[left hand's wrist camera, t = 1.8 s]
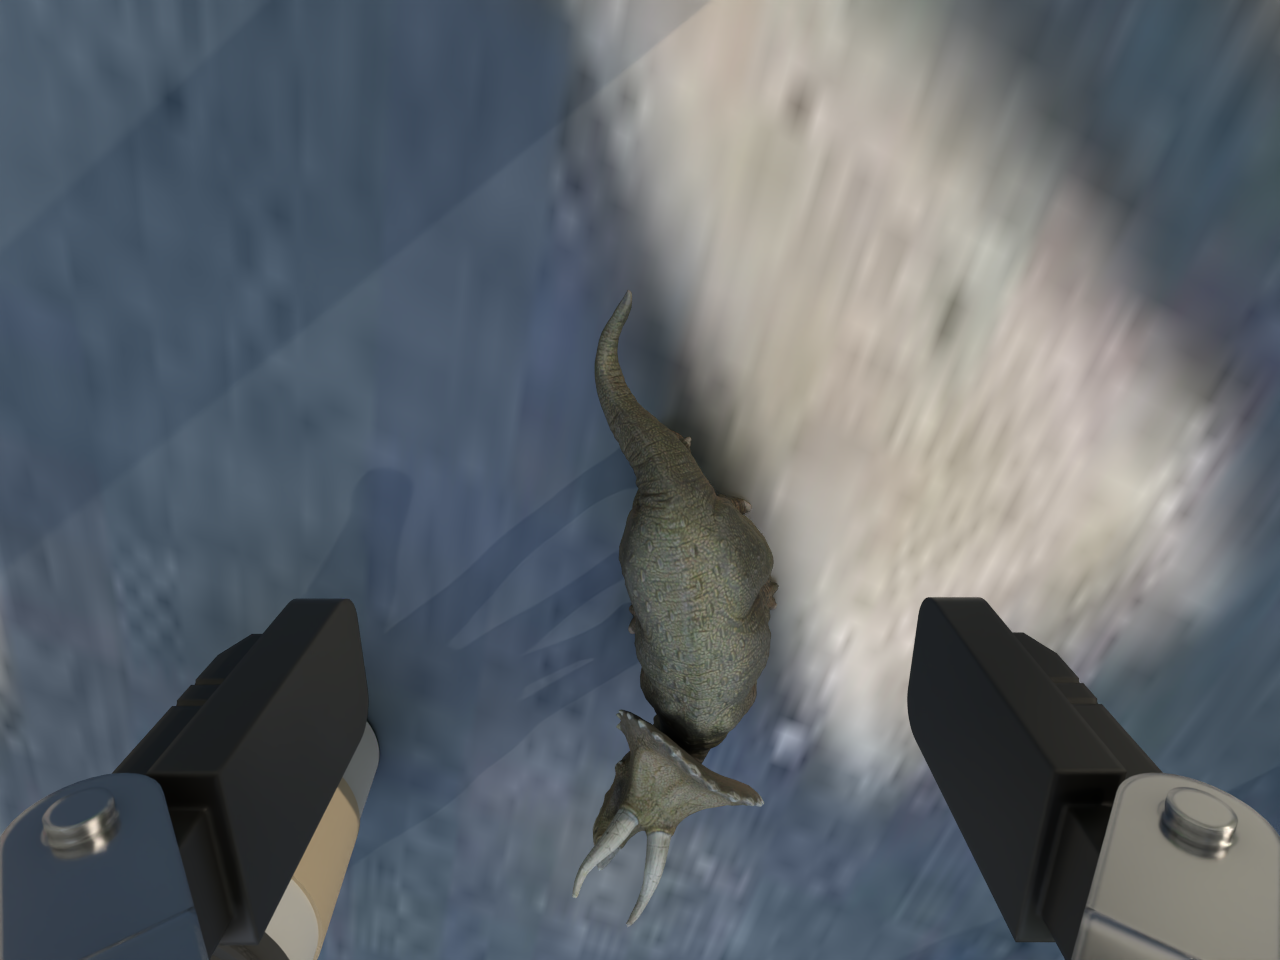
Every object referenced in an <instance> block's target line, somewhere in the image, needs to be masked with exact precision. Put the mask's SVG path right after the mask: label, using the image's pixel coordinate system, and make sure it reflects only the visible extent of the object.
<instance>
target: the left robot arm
mask: <svg viewBox="0 0 1280 960" xmlns="http://www.w3.org/2000/svg"><path fill="white" fill-rule="evenodd" d="M368 702H369V700H368V688H367V681H366V674H365V667H364V660H363V653H362V646H361V639H360V632H359V625H358V618H357V613H356V609H355V606H354V604H353V603H352V601H351V600H350V599H293V600H292V601H290V602H289V603H288V604H287V606H286V607H285V608H284V609H283V610H282V612H281V613H280V614H279V615H278V616H277V617H276V619H275V620H274V621H273V622H272V623H271V625H270V626H269V627H268V628H267V629H266V631H265V632H264V633H263V634H251V635H250V636H248V637H246V638H245V639H243V640H241V641H240V642H238V643H237V644H235V645H233V646H232V647H230V648H229V649H227V650H225V651H224V652H222V653H221V654H219V655H218V656H217V657H216V658H215V659H214V660H213V661H212V662H211V663H210V664H209V666H208V667H207V668H206V669H205V670H204V671H203V672H202V673H201V675H200V676H199V677H198V678H197V679H196V683H195V685H191V686H190V687H189V688H188V689H187V690H186V691H185V692H184V694H183V695H182V696H181V697H180V698H179V699H178V700H177V705H176V706H172V707H171V708H170V709H169V710H168V711H167V712H166V714H165V715H164V716H163V717H162V718H161V719H160V720H159V721H158V723H157V724H156V725H155V726H154V727H153V728H152V729H151V730H150V731H149V733H148V734H147V735H146V736H145V737H144V738H143V739H142V740H141V742H140V743H139V744H138V745H137V746H136V747H135V748H134V749H133V750H132V752H131V753H130V754H129V755H128V756H127V757H126V758H125V759H124V760H123V762H122V763H121V764H120V765H119V766H118V767H117V768H116V769H115V771H114V772H113V773H112V774H106V775H101V776H97V777H92V778H89V779H86V780H83V781H79V782H77V783H74V784H72V785H69V786H67V787H64V788H62V789H60V790H58V791H56V792H54V793H52V794H50V795H48V796H46V797H45V798H43V799H41V800H40V801H38V802H36V803H35V804H34V805H32V806H31V807H29V808H28V809H26V810H25V811H24V812H23V813H22V814H20V815H19V816H18V817H17V818H16V819H15V820H14V821H13V822H12V823H11V824H10V825H9V826H8V827H7V828H6V829H5V831H4V832H3V834H2V835H1V836H0V960H210V958H211V956H212V955H213V953H214V951H215V949H216V947H217V946H218V945H258V944H259V942H260V940H261V938H262V936H263V934H264V932H265V930H266V928H267V926H268V924H269V922H270V920H271V918H272V916H273V914H274V912H275V910H276V908H277V907H278V905H279V903H280V901H281V899H282V897H283V895H284V893H285V891H286V889H287V887H288V885H289V883H290V881H291V879H292V877H293V875H294V873H295V871H296V869H297V867H298V865H299V863H300V861H301V859H302V857H303V855H304V853H305V851H306V849H307V847H308V845H309V843H310V841H311V839H312V837H313V835H314V833H315V831H316V829H317V827H318V825H319V823H320V821H321V819H322V817H323V815H324V813H325V811H326V809H327V807H328V805H329V803H330V801H331V799H332V797H333V795H334V793H335V791H336V789H337V787H338V785H339V783H340V781H341V779H342V777H343V775H344V773H345V771H346V769H347V767H348V765H349V763H350V761H351V759H352V757H353V755H354V753H355V751H356V749H357V747H358V745H359V743H360V741H361V739H362V737H363V734H364V731H365V727H366V722H367V716H368ZM907 704H908V715H909V721H910V726H911V730H912V733H913V735H914V738H915V740H916V742H917V744H918V746H919V748H920V750H921V752H922V754H923V756H924V758H925V760H926V762H927V764H928V766H929V768H930V770H931V772H932V774H933V776H934V778H935V780H936V782H937V784H938V786H939V788H940V790H941V792H942V794H943V796H944V798H945V800H946V802H947V804H948V806H949V808H950V810H951V812H952V814H953V817H954V819H955V821H956V823H957V825H958V827H959V829H960V831H961V833H962V835H963V837H964V839H965V841H966V843H967V845H968V847H969V849H970V851H971V853H972V855H973V857H974V859H975V861H976V863H977V865H978V867H979V869H980V871H981V873H982V875H983V877H984V879H985V881H986V883H987V885H988V887H989V889H990V891H991V893H992V895H993V897H994V899H995V901H996V903H997V905H998V907H999V909H1000V911H1001V913H1002V915H1003V917H1004V919H1005V921H1006V923H1007V925H1008V927H1009V930H1010V932H1011V934H1012V936H1013V938H1014V940H1015V942H1056V944H1057V945H1058V947H1059V949H1060V951H1061V953H1062V955H1063V956H1064V958H1065V960H1280V836H1279V835H1278V834H1277V832H1276V831H1275V829H1274V828H1273V827H1272V826H1271V825H1270V824H1269V823H1268V822H1267V821H1266V820H1265V819H1264V818H1263V817H1262V816H1261V815H1260V814H1258V813H1257V812H1256V811H1255V810H1254V809H1252V808H1251V807H1249V806H1248V805H1246V804H1245V803H1244V802H1242V801H1240V800H1239V799H1237V798H1235V797H1234V796H1232V795H1230V794H1228V793H1226V792H1224V791H1222V790H1220V789H1218V788H1216V787H1213V786H1211V785H1208V784H1206V783H1203V782H1201V781H1197V780H1194V779H1191V778H1188V777H1183V776H1179V775H1174V774H1166V773H1163V772H1162V771H1161V770H1160V769H1159V768H1158V767H1157V766H1156V765H1155V763H1154V762H1153V761H1152V760H1151V759H1150V758H1149V757H1148V756H1147V754H1146V753H1145V752H1144V751H1143V750H1142V749H1141V748H1140V747H1139V745H1138V744H1137V743H1136V742H1135V741H1134V740H1133V739H1132V738H1131V736H1130V735H1129V734H1128V733H1127V732H1126V731H1125V730H1124V729H1123V727H1122V726H1121V725H1120V724H1119V723H1118V722H1117V721H1116V720H1115V718H1114V717H1113V716H1112V715H1111V714H1110V713H1109V712H1108V711H1107V709H1106V708H1105V707H1104V706H1103V705H1102V704H1098V703H1097V698H1096V697H1095V696H1094V695H1093V694H1092V692H1091V691H1090V690H1089V689H1088V688H1087V687H1086V686H1085V685H1084V683H1079V678H1078V677H1077V676H1076V674H1075V673H1074V672H1073V671H1072V670H1071V669H1070V668H1069V667H1068V665H1067V664H1066V663H1065V662H1064V661H1063V660H1062V659H1061V658H1060V656H1059V655H1058V654H1057V653H1055V652H1054V651H1052V650H1050V649H1049V648H1047V647H1046V646H1044V645H1042V644H1041V643H1039V642H1038V641H1036V640H1034V639H1033V638H1031V637H1030V636H1028V635H1026V634H1025V633H1012V632H1011V630H1010V629H1009V628H1008V627H1007V626H1006V624H1005V623H1004V622H1003V621H1002V620H1001V618H1000V617H999V616H998V615H997V614H996V612H995V611H994V610H993V609H992V608H991V606H990V605H989V604H988V603H987V602H986V601H985V600H984V599H983V598H979V597H928V598H926V599H924V601H923V602H922V604H921V607H920V610H919V615H918V622H917V629H916V636H915V643H914V650H913V657H912V664H911V671H910V679H909V686H908V696H907Z"/></svg>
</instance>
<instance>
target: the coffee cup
mask: <svg viewBox="0 0 1280 960" xmlns="http://www.w3.org/2000/svg"><path fill="white" fill-rule="evenodd" d="M378 762H379V747H378V742H377V739H376V736H375V734H374V732H373V730H372V728H371V727H370V725H369V723H368V722H366V727H365V731H364V734H363V737H362V739H361V741H360V743H359V745H358V747H357V749H356V751H355V753H354V755H353V757H352V759H351V761H350V763H349V765H348V767H347V769H346V771H345V773H344V775H343V777H342V779H341V781H340V783H339V785H338V787H337V789H336V791H335V793H334V795H333V797H332V799H331V801H330V803H329V805H328V807H327V809H326V811H325V813H324V815H323V817H322V819H321V821H320V823H319V825H318V827H317V829H316V831H315V833H314V835H313V837H312V839H311V841H310V843H309V845H308V847H307V849H306V851H305V853H304V855H303V857H302V859H301V861H300V863H299V865H298V867H297V869H296V871H295V873H294V875H293V877H292V879H291V881H290V883H289V885H288V887H287V889H286V891H285V893H284V895H283V897H282V899H281V901H280V903H279V905H278V907H277V908H276V910H275V912H274V914H273V916H272V918H271V920H270V922H269V924H268V926H267V928H266V930H265V932H264V934H263V936H262V938H261V940H260V942H259V944H258V945H218V946H217V947H216V949H215V951H214V953H213V955H212V956H211V958H210V960H317V958H318V956H319V954H320V951H321V948H322V944H323V941H324V938H325V935H326V932H327V929H328V926H329V923H330V920H331V916H332V913H333V910H334V907H335V904H336V901H337V898H338V895H339V891H340V888H341V885H342V882H343V879H344V876H345V873H346V870H347V867H348V863H349V860H350V857H351V854H352V851H353V848H354V845H355V842H356V838H357V835H358V832H359V826H360V818H361V815H362V812H363V809H364V806H365V803H366V800H367V797H368V794H369V791H370V788H371V785H372V782H373V779H374V776H375V773H376V770H377V767H378Z"/></svg>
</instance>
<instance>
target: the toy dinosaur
mask: <svg viewBox="0 0 1280 960" xmlns="http://www.w3.org/2000/svg"><path fill="white" fill-rule="evenodd" d="M631 306H632V293H631V292H630V291H629V290H628V291H627V292H626V294H625V296H624V298H623V299H622V300H621V302H620V303H619V305H618V306H617V308H616V310H615V311H614V313H613V315H612V317H611V318H610V320H609V321H608V323H607V324H606V326H605V328H604V329H603V331H602V333H601V336H600V339H599V343H598V348H597V354H596V359H595V382H596V388H597V393H598V397H599V400H600V403H601V407H602V409H603V411H604V414H605V417H606V419H607V422H608V424H609V427H610V429H611V431H612V433H613V434H614V437H615V439H616V440H617V441H618V442H619V445H620V448H621V450H622V452H623V453H624V455H625V457H626V459H627V460H628V461H629V462H630V465H631V467H632V468H633V470H634V473H635V475H636V478H637V480H636V485H637V487H638V488H639V489H638V491H637V493H636V496H635V498H634V502H633V508H632V510H631V511H630V513H629V515H628V518H627V521H626V527H625V530H624V534H623V537H622V540H621V543H620V546H619V561H620V563H621V567H622V574H623V576H624V578H625V585H626V588H627V591H628V594H629V597H630V600H631V603H632V605H631V606H630V607H629V611H630V612H631V613H632V614H633V615H634V618H633V619H632V621H631V623H630V625H629V632H630V633H631V634H635V647H636V654H637V658H638V660H639V662H640V664H641V666H642V669H641V674H640V684H641V689H642V691H643V693H644V696H645V698H646V700H647V701H648V702H649V703H650V704H651V706H652V707H653V708H654V710H655V712H656V714H657V715H656V716H655V717H654V724H653V725H652V724H651V723H649V722H647V721H645V720H643V719H642V718H640V717H639V716H637V715H635V714H633V713H631V712H628V711H625V710H619V712H620V713H618V714H617V716H618V717H619V718H620V719H621V722H620V723H619V724H618V725H617V728H618V729H620V730H621V731H622V732H623V733H624V735H625V736H626V739H627V742H628V744H629V748H630V751H629V752H628V753H627V754H626V755H625V756H624V757H623V759H622V760H621V761H619V762H618V763H617V764H616V766H615V771H616V775H615V779H614V782H613V784H612V786H611V788H610V790H609V791H608V792H607V793H606V794H605V798H604V803H603V806H602V807H601V809H600V813H599V815H598V817H597V818H596V820H595V823H594V826H593V842H594V847H593V849H592V850H591V851H590V853H589V854H588V855H587V857H586V858H585V860H584V861H583V863H582V864H581V866H580V868H579V871H578V873H577V875H576V878H575V882H574V887H573V895H572V896H573V898H576V897H577V896H578V894H579V891H580V888H581V886H582V883H583V881H584V879H585V877H586V876H587V874H588V873H589V872H590V871H591V870H592V869H593V868H594V867H595V866H596V865H597V866H598V869H599V870H603V869H604V868H605V867H606V866H607V865H608V864H609V862H610V861H611V860H612V859H613V858H614V856H615V855H616V854H617V853H618V851H619V850H620V849H622V848H623V847H624V845H625V844H626V843H627V841H628V840H629V839H630V838H631V837H632V836H634V835H635V834H636V833H638V832H640V831H645V832H646V835H647V852H646V863H645V870H644V880H643V885H642V889H641V892H640V895H639V898H638V900H637V903H636V905H635V907H634V909H633V911H632V913H631V915H630V917H629V920H628V921H627V923H626V924H627V927H628V926H631V925H632V924H633V923H634V922H635V921H636V920H637V919H638V918H639V916H640V915H641V913H642V912H643V910H644V908H645V907H646V905H647V903H648V902H649V900H650V898H651V896H652V895H653V893H654V891H655V889H656V887H657V885H658V883H659V881H660V878H661V875H662V872H663V869H664V866H665V862H666V858H667V853H668V849H669V844H670V839H671V837H672V836H673V834H674V832H675V829H676V827H677V825H678V824H679V823H680V822H681V821H682V820H683V819H684V818H686V817H687V816H689V815H691V814H693V813H695V812H697V811H700V810H703V809H706V808H713V807H719V806H724V805H732V806H733V805H746V806H747V805H751V806H753V805H756V806H759V807H760V806H762V804H764V802H763V800H762V798H761V796H760V795H759V794H758V793H757V792H756V791H755V790H754V789H752V788H751V787H750V786H749V785H746V784H744V783H741V782H739V781H736V780H733V779H730V778H727V777H724V776H721V775H719V774H717V773H715V772H713V771H711V770H709V769H708V768H706V767H705V766H703V765H702V762H703V761H704V759H705V757H706V756H707V754H708V752H709V750H710V749H711V748H713V747H716V746H717V745H719V744H720V743H721V742H722V741H723V740H724V739H725V738H726V736H727V734H728V732H729V731H731V730H732V729H733V728H735V726H736V725H737V724H738V723H739V722H740V720H741V719H742V717H743V716H744V715H745V714H746V713H747V712H748V710H749V709H750V707H751V706H752V705H753V703H754V701H755V698H756V693H757V692H756V684H757V679H758V678H759V676H760V674H761V672H762V670H763V669H764V668H765V666H766V663H767V660H768V657H769V649H770V639H771V632H770V630H769V627H768V621H769V619H770V613H769V612H770V610H774V609H775V608H776V606H777V604H776V602H775V600H774V598H773V597H772V595H773V594H774V593H775V592H776V591H777V590H778V584H777V583H771V582H770V579H771V576H770V573H771V571H772V568H773V556H772V552H771V550H770V548H769V546H768V544H767V542H766V540H765V538H764V536H763V535H762V534H761V533H760V532H759V530H758V529H757V528H756V526H755V525H754V524H753V523H752V521H750V520H749V519H748V518H747V517H746V516H744V515H743V514H745V513H747V512H749V511H750V510H751V508H752V506H751V505H750V504H749V503H748V502H746V501H745V500H743V499H740V498H729V497H727V496H725V495H716V494H715V491H714V488H713V487H712V486H711V485H710V483H709V481H708V480H707V478H706V477H705V476H704V475H703V473H702V471H701V469H700V468H699V466H698V464H697V463H696V461H695V459H694V457H693V456H692V455H691V450H690V442H691V438H690V437H686V438H683V437H682V436H681V435H680V434H678V433H676V432H674V431H672V430H670V429H668V428H667V427H666V426H664V425H663V424H662V423H660V422H659V421H658V420H657V419H656V417H654V416H653V415H651V414H650V413H649V412H648V411H647V410H645V409H644V408H643V407H642V406H641V405H640V404H639V403H638V402H637V400H636V398H635V397H634V396H633V394H632V393H631V391H630V389H629V388H628V387H627V385H626V383H625V380H624V376H623V374H622V371H621V368H620V365H619V363H618V355H617V348H618V339H619V336H620V333H621V330H622V327H623V325H624V324H625V322H626V320H627V318H628V315H629V313H630V310H631Z"/></svg>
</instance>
